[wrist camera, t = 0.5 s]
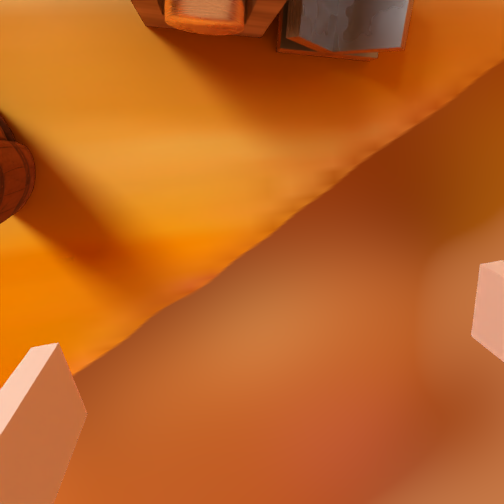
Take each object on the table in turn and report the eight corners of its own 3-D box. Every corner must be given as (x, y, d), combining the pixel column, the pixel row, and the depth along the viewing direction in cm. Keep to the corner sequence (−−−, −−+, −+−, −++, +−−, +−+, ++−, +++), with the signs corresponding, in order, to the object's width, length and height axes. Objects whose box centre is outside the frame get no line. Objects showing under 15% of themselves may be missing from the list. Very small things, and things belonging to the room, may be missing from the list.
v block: (278, -43, 30) (298, -85, 24) (386, -28, 31) (431, -64, 25) (271, 51, 32) (288, 35, 26) (372, 61, 33) (410, 48, 27)
